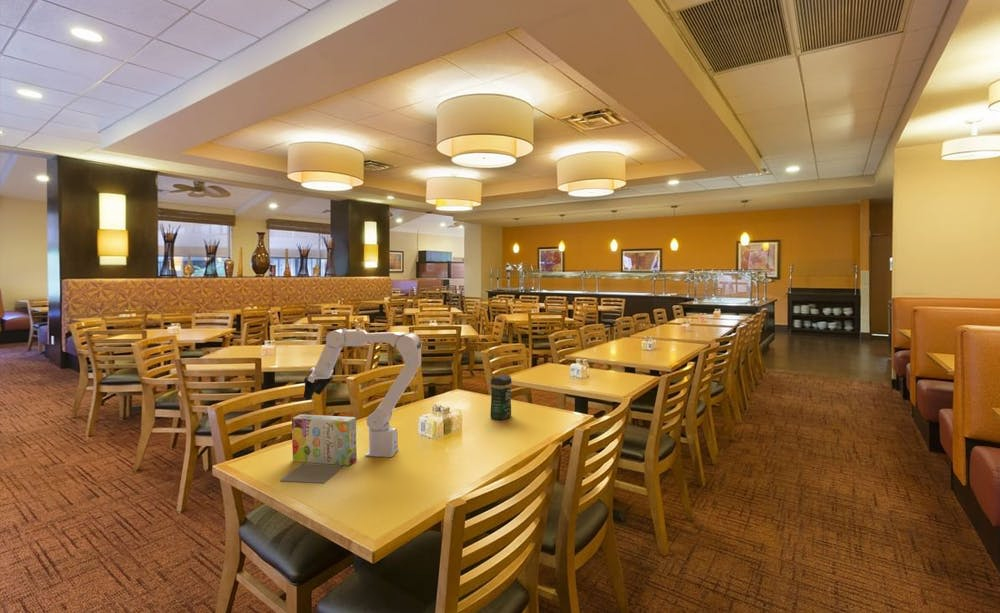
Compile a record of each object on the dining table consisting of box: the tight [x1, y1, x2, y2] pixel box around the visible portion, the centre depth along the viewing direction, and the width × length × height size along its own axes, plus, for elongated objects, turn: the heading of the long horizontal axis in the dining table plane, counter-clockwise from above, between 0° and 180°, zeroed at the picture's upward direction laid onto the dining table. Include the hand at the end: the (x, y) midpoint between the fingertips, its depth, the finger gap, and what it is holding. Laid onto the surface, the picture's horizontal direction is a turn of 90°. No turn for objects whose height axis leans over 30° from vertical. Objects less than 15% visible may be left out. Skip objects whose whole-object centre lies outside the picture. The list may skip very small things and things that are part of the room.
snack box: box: [291, 413, 358, 467], centre depth 163 cm, size 21×6×15 cm, turn 78°
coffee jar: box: [489, 374, 513, 420], centre depth 213 cm, size 10×8×19 cm
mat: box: [279, 463, 343, 484], centre depth 153 cm, size 14×13×1 cm
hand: (311, 395), depth 171 cm, fingers open, 7 cm apart
